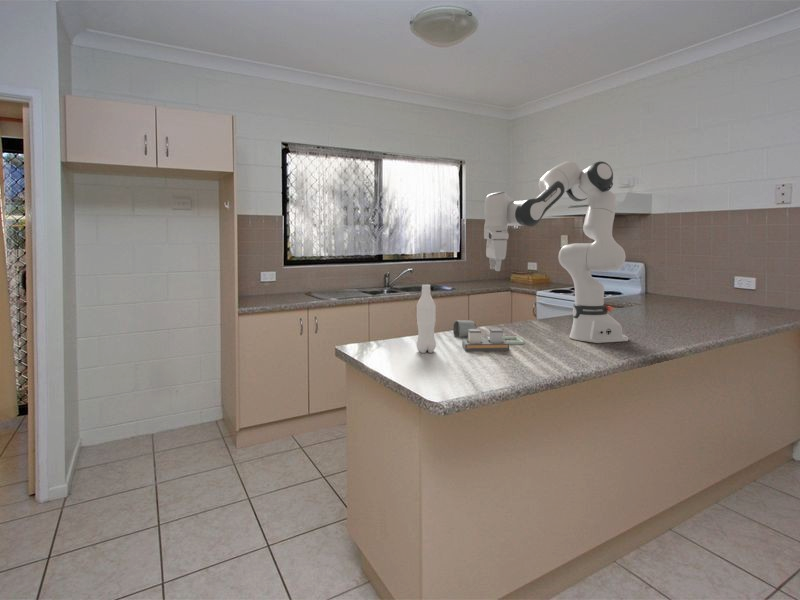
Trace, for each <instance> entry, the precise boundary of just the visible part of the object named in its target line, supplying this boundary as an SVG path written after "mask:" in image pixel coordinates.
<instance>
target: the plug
mask: <svg viewBox="0 0 800 600" xmlns="http://www.w3.org/2000/svg"><path fill="white" fill-rule="evenodd" d="M481 339H482V331H481V329H480V328H477V329H468V337H467V340H468V343H481Z"/></svg>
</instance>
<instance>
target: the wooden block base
mask: <svg viewBox="0 0 800 600" xmlns="http://www.w3.org/2000/svg"><path fill="white" fill-rule="evenodd" d="M461 342H462V343H461V344H462V345H461V347H462V349H464V351H465V352H496V351H497V352H502V351H503V352H504V351H508V352H509V351H510V344H509V343H508V342H509V341H507V339H503V343H490V339H488V338H486V339H485V338H484V339H483V338H481V343H468V339H462V340H461Z"/></svg>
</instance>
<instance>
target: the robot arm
mask: <svg viewBox="0 0 800 600" xmlns="http://www.w3.org/2000/svg"><path fill="white" fill-rule="evenodd" d="M613 181H614V172H613V169H612V166H611V165H610V164H608V162H606V161H602V160H601V161H600V160H599V161H597V162H594V163H592V164H590V165H589V166H587V167H586V168H584V169H581V168H580V166H579V165H578V164H577V163H576V162H574V161H572V160H566V161H564V162H561V163H559V164H557V165H555V166H554V167H553V168H551V169H549V170H548V171H547V172H546V173H544V174H543V175H542V176H541V178H539V181H538V189H539V192H540V194H539V195H538V196H536V197H535V198H530V199H523V200H515V199H513V198H511V197H510V196H509V195H507V192H505V191H498V192H492V193H488V194H487V196H486V197H485V200H484V210H483V211H484V212H483V214H484V220H485V221H484V226H483V227H484V228H483V239H484V240H486V248H485V255H486V258H488V259H489V260H488V261H489V264H490V265H489V269H490V270H494V271H496V272H500V271H501V267H502V266H501V265H502V262H503V261H502V260H505V259H506V256H507V249H508V248H507V247H508V239H509V236H510V234H509V232H508V227H517V226H518V227H522V226H523V227H534V226H537V225H538V224H539V223H540V221H541V220H542V218H543V217H544V215H545V214H546V212H547V211H548V210H549V209H551V208H552V207H553V205H555V204H556V203H557V202H558V201H559V200H560V199H561V198H562V196H563V195H564V194H565V193H566V194H567V196H568V197H569V198H570V199H571V200H573V201H574V202H582V201H588V202H587V203H588V204H587V205H588V206H587V209H586V212H585V213H586V214H585V217H584V222H583V226H582V231H583V233H584V234H585V236H586V237H588V238H589V239H591V240H592V241H593V240H594V241H593V242H591V243H590V242H588V243H587V242H585V243H583V242H581V243H580V242H579V243H578V242H577V243H576V242H575V243H568V244H565V245H563V246H562V247H561V248H560V250H559V252H558V256H557V257H558V263H559V265H561V267H562V268H563V269H564V270H566V272H568V274H569V275H570V277H571V279H572V282H573V286H574V303H573V306H572V307H573V308H572V316H573V318H572V326H571V330H570V334H569V338H570V339H572V340H575V341H582V342H589V343H595V344H602V343H603V344H605V343H616V342H617V343H618V342H629V337H628V336H627V335H625V334H623V327H622V325H621V323H620V322H618V320H616V319H614V317H612V316H611V315H610V314H609V313H608V312H611V313H612V311H613V307H612V306H609V305H608V306H607V305H606V304H605V303H604V301H605V299H604V298H605V287H604V285H603V283H601V281H599V280H597V279H596V278H594V277H593V276H592V274H591V271H594V272H595V271H596V272H597V271H599V272H609V271H617V270H619V269H621V268H622V267H623V266H624V264H625V263H626V259H627V258H626V252H625V249H624V248H623V247H622V245H620V244H619V243H617V241H616V240H615V238H614V237H613V228H614V227H613V226H614V219H615V215H616V207H617V199H616V195H615V193H613V192H612V191H610V190H611V189H612V187H613V185H614V182H613Z"/></svg>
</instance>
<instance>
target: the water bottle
mask: <svg viewBox="0 0 800 600" xmlns="http://www.w3.org/2000/svg"><path fill="white" fill-rule="evenodd" d="M431 291H432V289H431V285H430V284H422V285H421V290H420V292H421V294H420V297H419V299H418V302H417V303H416V307H415V308H416V325H417V330H418V334H417V341H416V348H417V351H418V352H419V353H422V354H426V352H428V353H429V354H432V353H433V352H434V351H435V349H436V347H437V343H436V338H435V325H436V322H437V321H436V318H437V316H436V314H437V313H436V312H437V311H436V309H437V306H436V303H435V301H434V299H433V297H432V295H431V294H432V293H431Z"/></svg>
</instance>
